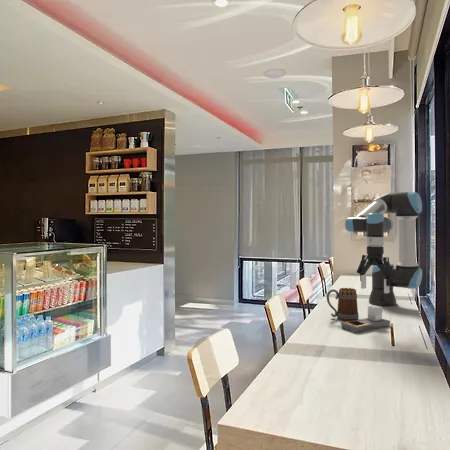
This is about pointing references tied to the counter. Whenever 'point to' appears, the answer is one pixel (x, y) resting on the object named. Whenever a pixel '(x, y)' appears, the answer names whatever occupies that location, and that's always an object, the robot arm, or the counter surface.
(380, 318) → the steel peg
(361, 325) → the rail plate
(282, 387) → the counter surface
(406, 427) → the counter surface
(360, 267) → the robot arm
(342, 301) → the mug
